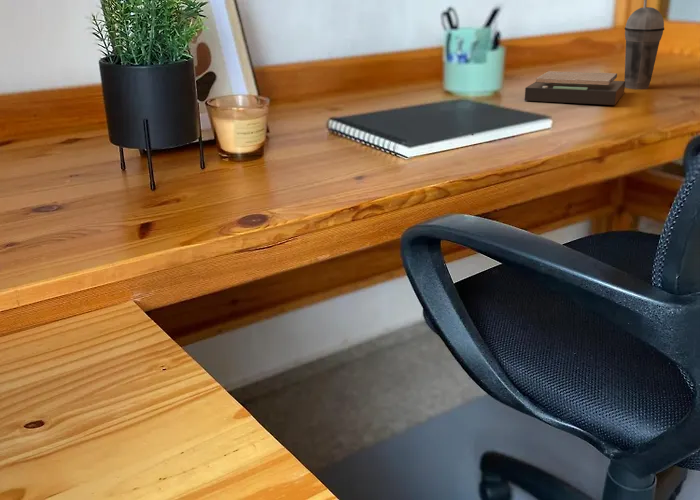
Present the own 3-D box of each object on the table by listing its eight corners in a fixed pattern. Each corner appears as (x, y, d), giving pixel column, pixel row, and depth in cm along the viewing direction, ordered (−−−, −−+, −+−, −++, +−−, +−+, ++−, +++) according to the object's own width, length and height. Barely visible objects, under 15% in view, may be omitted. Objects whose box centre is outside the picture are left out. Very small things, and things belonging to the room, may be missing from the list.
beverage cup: (663, 88, 143) (679, -18, 135) (641, 93, 139) (655, -16, 131) (632, 83, 148) (645, -19, 140) (609, 88, 144) (621, -17, 136)
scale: (624, 93, 138) (625, 79, 137) (614, 105, 127) (616, 89, 126) (540, 90, 145) (541, 76, 144) (524, 100, 133) (525, 85, 132)
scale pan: (616, 77, 136) (617, 73, 136) (608, 85, 127) (609, 80, 127) (548, 75, 142) (548, 71, 142) (535, 82, 133) (535, 78, 132)
